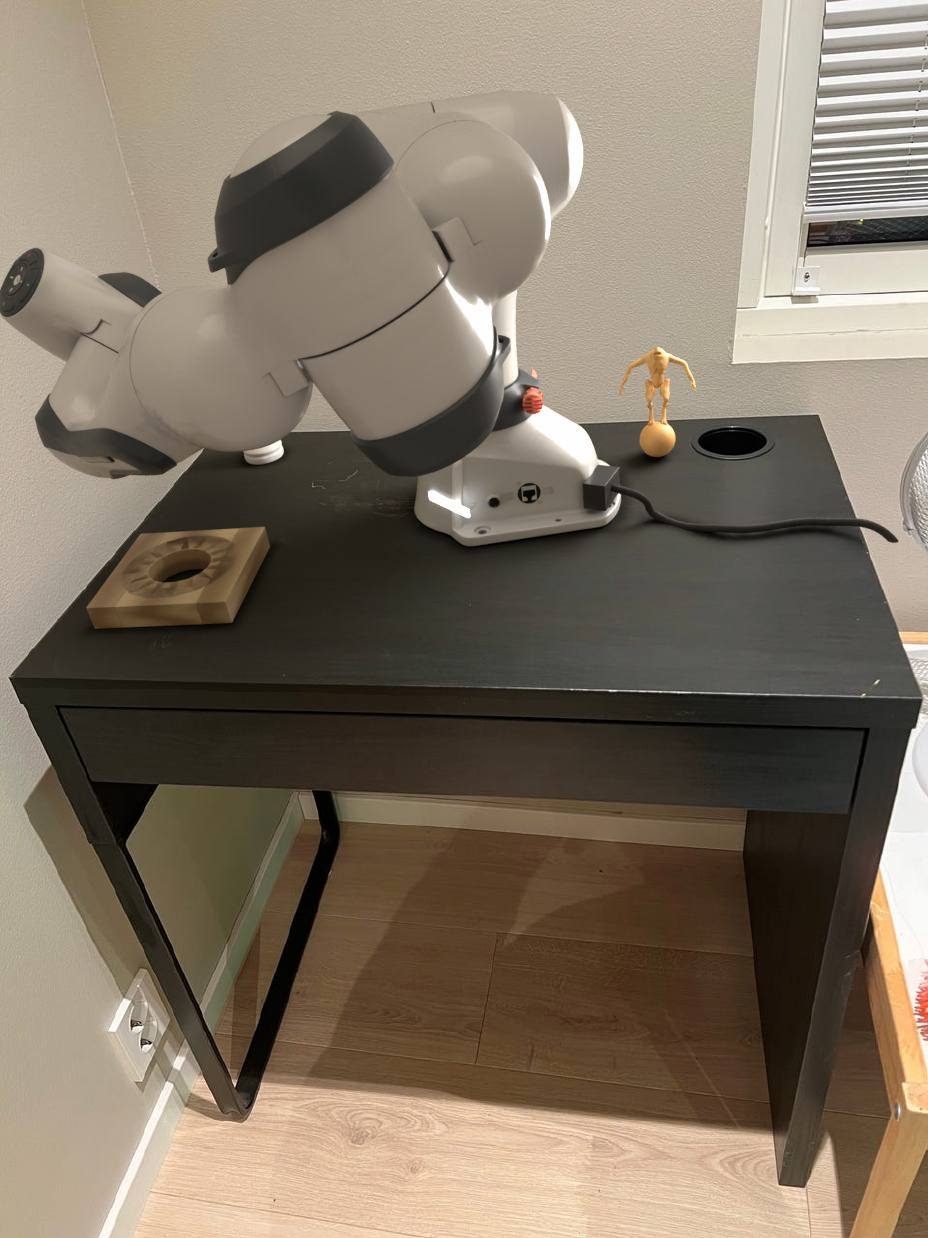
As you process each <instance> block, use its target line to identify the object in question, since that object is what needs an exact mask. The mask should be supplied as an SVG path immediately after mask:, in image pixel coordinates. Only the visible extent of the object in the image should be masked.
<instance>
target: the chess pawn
mask: <svg viewBox="0 0 928 1238" xmlns="http://www.w3.org/2000/svg"><path fill="white" fill-rule="evenodd" d="M242 452H243V457H244V460H245V461H246V462H247V463H248V464H250V465H265V464H266V465H267V464H271V463H273V462H275V461H277V460H279V459H281V458H282V457H283V455H284V452H285V451H284V446H283V444H282V439H281V440H279V441H278V442H275V443H273V444H271V445H269V446H266V447H263V448H259V449H255V450H249V451H242Z"/></svg>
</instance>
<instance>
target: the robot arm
mask: <svg viewBox="0 0 928 1238" xmlns="http://www.w3.org/2000/svg"><path fill="white" fill-rule="evenodd" d="M582 139H583V138H582V135H581V131H580V128H579V126H578V122H577V121H576V119H575V117H574V115H573V113H572V112H571V111H570V109H569V108H568V107H567V105H566V104H565V103H564V102H563V101H562V100H561V99H560V98H559V97H558V96H557V95H556V94H553V93H544V92H533V91H532V92H531V91H519V90H497V91H491V92H484V93H478V94H470V95H464V96H457V97H450V98H443V99H436V100H430V101H424V102H417V103H416V102H415V103H410V104H403V105H396V106H389V107H383V108H376V109H370V110H363V111H359V112H355V113H352V114H351V113H347V112H344V111H340V110H339V111H338V110H335V111H332V112H329V113H327V114H319V113H318V114H306V115H301V116H296V117H292V118H289V119H287V120H283V121H281V122H279V123H276V124H275V125H274V126H271V127H270V128H269V129H267V130H265V131H264V132H263V133H261V134H259V136H257V138H256V139H254V140H253V141H252V142H251V143H250V144H249V145H248V147H247V148H246V149H245V150H244V152H242V154H241V155H240V157H239V159H238V160H237V162H236V163H235V165H234V167H233V169H232V171H231V173H230V174H229V175H227V176H226V177H225V178H224V179H223V181H222V184H221V188H220V191H219V193H218V195H219V196H218V198H217V203H216V208H215V212H214V216H213V217H214V218H213V220H214V232H215V242H216V248H214V249H213V250H212V251H211V253H210V254H209V255H208V257H207V264H208V270H209V272H210V273H216V272H219V271H221V270H223V269H224V270H225V276H226V284H227V285H226V286H224V287H221V286H213V285H212V286H210V285H185V286H179V287H175V288H172V289H171V288H170V289H168V290H166V291H164V292H162V291H161V290H160V289H158V288H157V287H155V286H154V285H153V284H152V283H150V282H149V281H147V280H146V279H144V278H142V277H141V276H139V275H137V274H134V273H131V272H127V271H123V272H109V273H108V272H107V273H103V274H99V275H97V274H95V273H93V272H91V271H90V270H88V269H87V268H85V267H83V266H81V265H79V264H77V263H76V262H73V261H72V260H70V259H68V258H66V257H64V256H62V255H59V254H57V253H55V252H53V251H51V250H48V249H46V248H43V247H39V246H38V247H32V248H30V249H28V250H26V251H25V252H23V253H21V255H20V256H18V258H17V259H15V261H14V262H13V263H12V265H11V267H10V269H9V270H8V272H7V274H6V276H5V277H4V279H3V282H2V285H1V287H0V316H1V317H2V319H3V320H4V321H5V322H6V323H8V324H9V325H10V326H12V328H14V329H15V330H16V331H17V332H19V333H20V334H22V335H23V336H24V337H26V338H27V339H29V340H30V341H31V342H33V343H34V344H36V345H37V346H39V347H40V348H42V349H44V350H45V351H47V353H49V354H51V355H53V356H54V357H57V358H59V359H60V360H62V361H64V362H65V364H64V367H63V369H62V370H61V372H60V374H59V376H58V378H57V380H56V382H55V384H54V386H53V388H52V389H51V392H50V393H48V395H47V396H46V398H45V400H44V401H43V403H42V404H41V406H40V407H39V409H38V411H37V412H36V414H35V416H34V420H35V421H34V422H35V425H36V429H37V433H38V435H39V438H40V440H41V443H42V445H43V447H44V448H45V449H47V450H48V451H49V453H50V454H52V455H53V457H55V458H56V459H57V460H58V461H60V462H61V463H63V464H64V465H66V466H68V467H70V468H72V469H73V470H76V471H78V472H79V473H82V474H85V475H88V476H91V477H96V478H101V479H110V480H118V479H122V478H126V477H129V476H140V477H141V476H143V477H144V476H145V477H147V476H160V475H161V476H162V475H164V474H166V473H167V472H169V471H170V470H172V469H174V468H176V467H177V466H178V464H179V463H181V462H183V461H185V460H186V459H188V458H190V457H191V456H193V455H195V454H196V453H198V452H199V451H202V450H204V449H207V450H210V451H218V452H227V453H235V452H243V451H249V450H255V449H259V448H263V447H266V446H269V445H271V444H273V443H275V442H278V441H279V440H281V441H282V440H283V438H285V437H287V436H288V435H289V434H290V433H291V432H292V431H293V430H294V429H295V428H296V427H298V425H299V424H300V422H301V421H302V419H303V418H304V416H305V414H306V412H307V410H308V408H309V405H310V403H311V400H312V396H313V389H314V386H315V387H316V389H317V390H318V391H319V393H320V394H321V396H322V397H323V399H324V400H325V401H326V402H327V403H328V405H329V406H330V408H332V410H333V411H334V412H335V414H336V415H337V416H338V418H339V419H340V420H341V421H342V423H343V424H344V425H345V426H346V427H347V428H348V430H350V433H349V434H350V435H349V437H350V439H351V441H352V442H353V444H355V445H356V447H357V448H358V449H359V450H360V452H362V453H363V454H364V456H365V457H366V458H367V459H368V460H369V461H371V462H372V463H373V464H374V465H375V466H376V467H378V468H379V469H380V470H382V471H383V472H384V473H386V474H387V475H390V476H393V477H394V476H395V477H409V478H410V477H417V482H416V493H415V499H414V500H415V501H414V507H413V511H414V515H415V517H416V519H418V521H419V522H420V523H422V524H423V525H424V526H425V527H428V528H429V529H432V530H435V531H437V532H440V533H443V534H447V535H449V536H451V537H452V538H453V539H454V540H455V541H456V542H458V543H459V544H461V545H462V546H465V547H477V546H483V545H489V544H496V543H497V544H498V543H503V542H511V541H515V540H516V541H517V540H522V539H523V540H524V539H528V538H529V539H530V538H535V537H536V538H537V537H542V536H549V535H557V534H562V533H567V532H568V533H569V532H574V531H580V530H581V531H582V530H587V529H594V528H601V527H604V526H607V525H608V524H610V522H611V521H612V520H613V519H614V518H615V517H616V516H617V514H618V512H619V510H620V507H621V503H622V495H623V496H627V497H630V498H633V499H635V500H637V501H639V502H640V503H642V504H643V506H644V509H645V511H646V512H647V514H648V515H649V516H650V517H651V518H653V519H655V520H656V521H658V522H660V523H664V524H667V525H672V526H676V527H679V528H683V529H686V530H689V531H695V532H702V533H721V534H722V533H723V534H724V533H725V534H752V533H753V534H754V533H762V532H770V531H775V530H781V529H787V528H794V527H807V526H809V527H810V526H812V527H813V526H815V527H816V526H817V527H818V526H819V527H856V528H857V527H858V528H862V529H863V528H864V529H868V530H870V531H873V532H875V533H877V534H879V535H880V536H881V537H883V538H884V539H885V540H886V541H887V542H889V543H891V544H897V543H899V539H898V538H897V537H896V535H895V534H894V533H892V532H891V530H889V529H888V528H886V527H885V526H883V525H881V524H880V523H877V522H875V521H872V520H869V519H865V518H856V517H798V518H789V519H784V520H783V519H782V520H777V521H771V522H765V523H755V524H718V523H717V524H713V523H711V524H710V523H693V522H687V521H686V522H685V521H680V520H676V519H674V518H673V517H672V518H671V517H669V516H667V515H665V514H663V513H661V512H660V511H658V510H656V509H655V508H654V506H653V503H652V500H651V499H650V498H649V497H648V496H647V495H646V494H643V492H641V491H639V490H636V489H633V488H630V487H626V486H622V485H621V483H620V482H621V481H620V477H621V475H620V466H615V465H614V466H612V465H610V464H608V463H607V462H606V461H603V460H602V459H599V458H598V455H597V452H596V449H595V446H594V444H593V441H592V439H591V438H590V435H589V434H588V433H587V431H586V430H585V429H584V428H583V427H582V426H581V425H580V424H577V423H576V422H574V421H572V420H570V419H568V418H566V417H565V416H563V415H561V414H559V413H558V412H556V411H554V410H553V409H551V408H549V407H548V406H545V405H544V394H543V393H542V391H541V386H540V379H538V374H537V372H536V370H535V369H532V370H531V374H530V373H528V372H526V371H525V370H523V369H521V368H520V367H519V363H518V353H517V349H518V348H517V323H516V322H517V317H516V316H517V295H518V289H520V288H521V287H522V286H524V285H525V284H526V283H527V282H528V281H529V280H530V279H531V277H532V276H533V275H534V273H536V271H537V270H538V268H539V266H540V265H541V263H542V261H543V259H544V257H545V254H546V251H547V248H548V246H549V241H550V234H551V223H552V221H553V220H554V219H555V218H556V217H557V216H558V215H559V214H560V213H561V212H562V211H563V210H565V208H566V207H567V205H569V203H570V201H571V200H572V198H573V196H574V195H575V192H576V190H577V188H578V186H579V183H580V180H581V177H582V171H583V165H584V144H583V141H582Z"/></svg>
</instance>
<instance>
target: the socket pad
mask: <svg viewBox="0 0 928 1238" xmlns="http://www.w3.org/2000/svg"><path fill="white" fill-rule="evenodd" d="M270 548H271V544H270V541H269V537H268V533H267V529H266V527H265V526H253V527H239V528H237V527H236V528H221V529H201V530H186V531H185V530H184V531H169V532H168V531H167V532H165V531H164V532H150V533H149V532H148V533H147V532H146V533H140V534H139V535H138V536H137V538H136V539H135V541H134V542H133V544H132V545H131V546H130V548H129V549H128V550H127V552H126V553H125V554H124V555H123V557H122V559H121V560H120V562H118V564H117V565H116V566H115V568H114V570H113V571H112V572H111V573H110V575H109V576H108V577H107V579H106V580H105V581H104V583H103V584H102V585H101V586H100V589H99V590H98V591H97V593H96V594H95V595H94V596H93V598H92V599H91V601H90V602H89V603H88V605H86V608H85V610H86V612H87V615H88V616H89V618H90V621H91V623H92V625H93V628H94V629H95V630H99V629H100V630H101V629H122V628H124V629H125V628H146V627H149V628H150V627H165V626H166V627H168V626H171V627H172V626H192V625H193V626H194V625H213V624H214V625H217V624H232V623H233V622H234V619H235V618H236V615H237V614H238V611H239V610H240V608H241V606H242V604H243V602H244V600H245V598H246V596H247V595H248V593H249V590H250V589H251V586H252V584H253V583H254V580H255V578H256V576H257V574H258V572H259V570H260V568H261V565H262V564H263V562H264V560H265V558H266V556H267V554H268V552H269V550H270ZM190 570H202V571H200V572H199V573H197V574H195V575H192V576H191V577H189V578H186V579H182V580H177V581H171V582H170V581H169V582H165V581H166V580H167V579H168V578H170V577H173V576H175V575H177V574H179V573H182V572H186V571H190Z"/></svg>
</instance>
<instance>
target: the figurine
mask: <svg viewBox="0 0 928 1238" xmlns="http://www.w3.org/2000/svg"><path fill="white" fill-rule="evenodd" d="M669 363H672V364H675V365H678V366H683V369H684V372H685V373H686V376H687V378H688V379H689V381H691V383H690V387H692V391H693V392H695V391H697V386H696V381H695V379H694V377H693V374H692V372H691V371H690V368H689V365H688V363H687V362H686V361H685V360H684V359H681V358H679V357H676V356H674V355H673V354H671V353H668V352H666V351H665V350H664V349H663V348H661V347H659V346H656V347H654V348H653V349H651V351H650V352H649V353H648V354H645V355H642V357H641V358H639V359H637V360H635V361H633V362H632V363H630V364H629V365H628V366H627V369H626V372H625V374H624V377H623V378H622V382H621V384H620V387H619V395H624V391H625V390H626V388H625V385H626V383H627V382H628V379H629V377H630V375H631V373H632V370H633V369H635V368H638V367H640V366H643V365H645V364H646V366H647V369H648V371H649V374H650V378H651V379H646V380H645V381H644V387H645V401H646V403H647V404H646V408H647V409H648V422H647V425H645V426H644V427H643V429H642V430H641V432H640V435H639V445H640V448H641V449H642V451H643V452H644V453H645V454H646V455H648V456H650V457H653V458H661V457H663V456H664V457H665V456H666V455H667V454H669V453H670V452H671V451H672V450H673V448H674V447H675V443H676V433H675V431H674V429H673V427H672V426H671V425H669V423H668V421H667V408H668V406H669V404H668V402H669V399H670V384H671V380H670V378H665V377H664V376H665V373H666V370H667V368H668V364H669ZM664 378H665V379H664ZM656 389H659V395H660V397H662V400H663V401H662V403H661V415H660V417H661V418H660V421H659V420H657V421H655V420H654V403H653V402H652V401H653V398H654V397H655V396H656Z"/></svg>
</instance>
